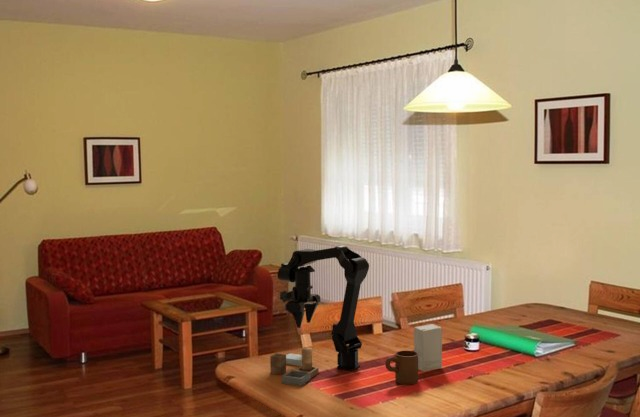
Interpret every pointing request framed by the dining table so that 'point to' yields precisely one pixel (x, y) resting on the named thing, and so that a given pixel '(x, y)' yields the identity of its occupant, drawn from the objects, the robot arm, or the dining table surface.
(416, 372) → the mug
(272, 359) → the block
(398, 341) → the dining table surface
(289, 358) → the pale grey box
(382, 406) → the dining table surface
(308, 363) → the dowel
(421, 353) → the skincare box
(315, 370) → the socket block
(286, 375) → the tray
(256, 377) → the dining table surface
